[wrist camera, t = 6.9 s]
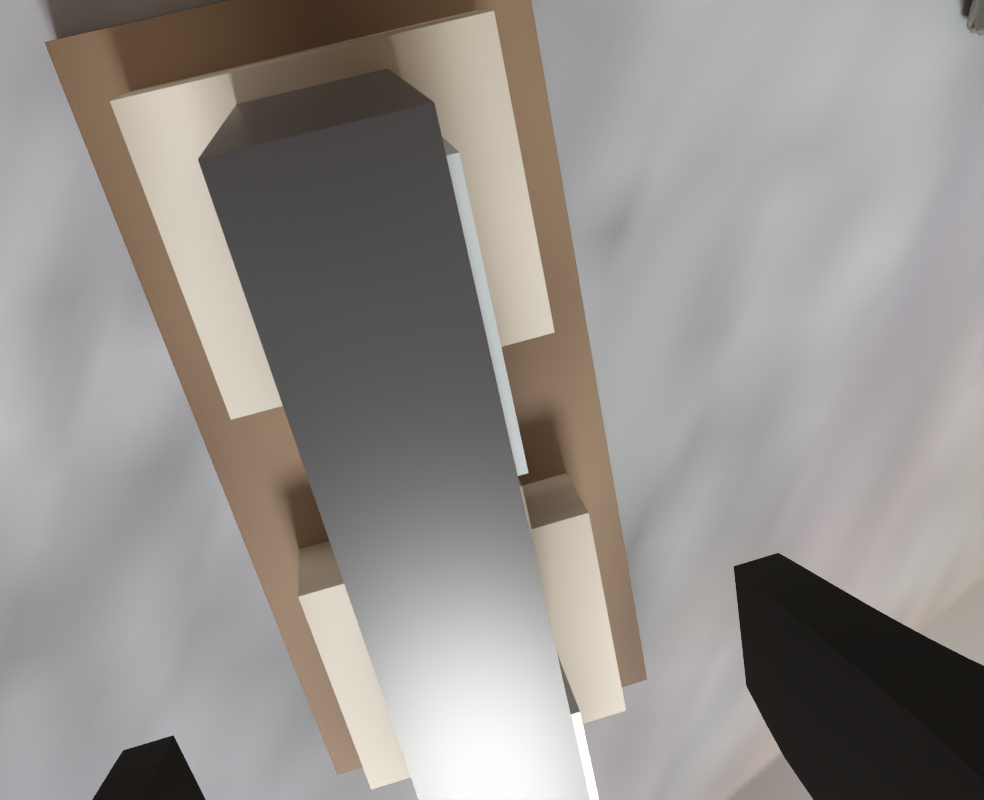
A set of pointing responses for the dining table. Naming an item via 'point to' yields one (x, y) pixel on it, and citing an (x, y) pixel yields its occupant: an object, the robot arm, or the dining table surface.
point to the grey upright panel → (403, 423)
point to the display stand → (237, 347)
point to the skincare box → (976, 17)
